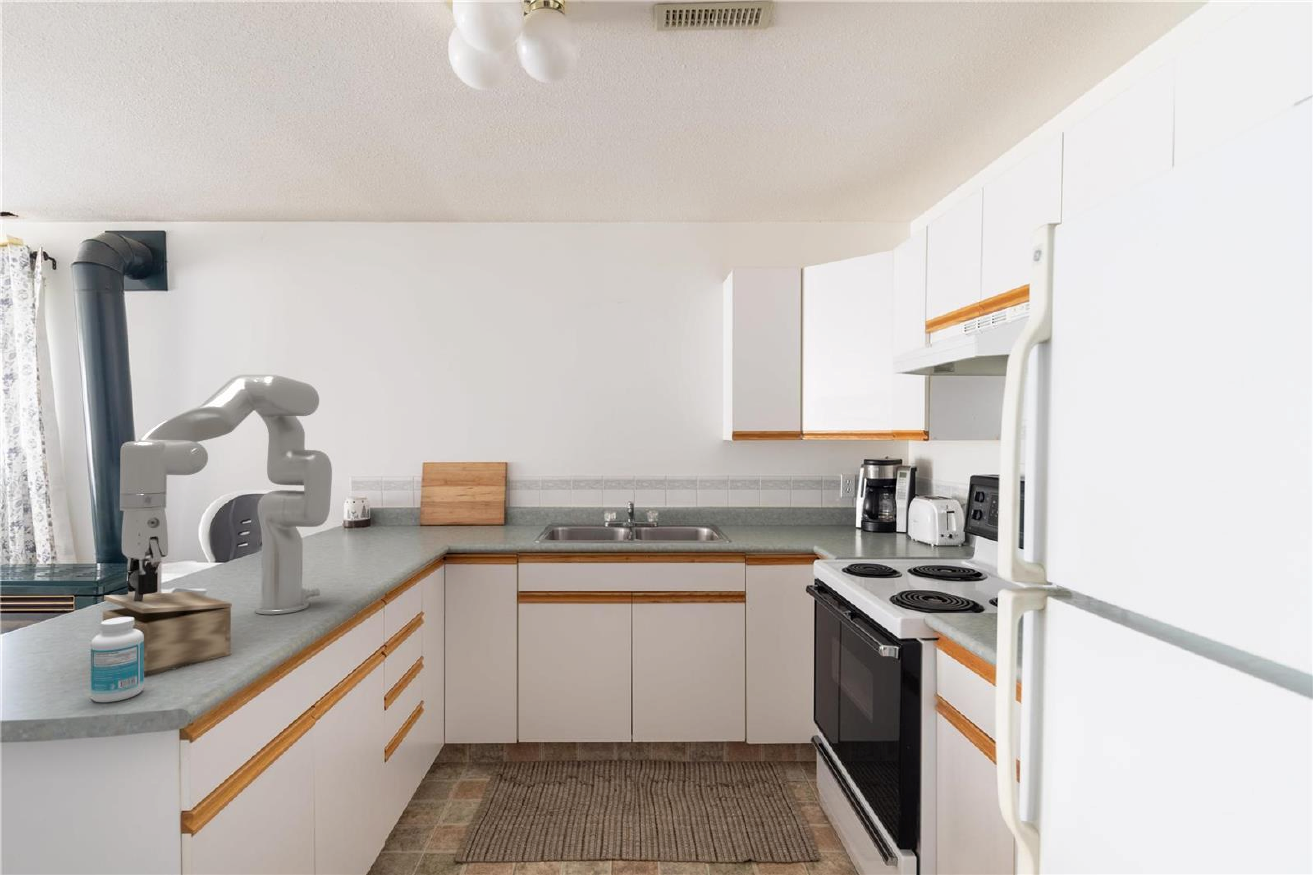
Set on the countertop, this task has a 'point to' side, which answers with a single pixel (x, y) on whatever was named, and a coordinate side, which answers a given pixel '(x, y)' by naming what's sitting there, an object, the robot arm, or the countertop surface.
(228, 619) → the wooden box
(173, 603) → the flap
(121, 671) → the pill bottle
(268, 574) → the robot arm
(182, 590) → the spoon rest
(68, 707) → the countertop surface
